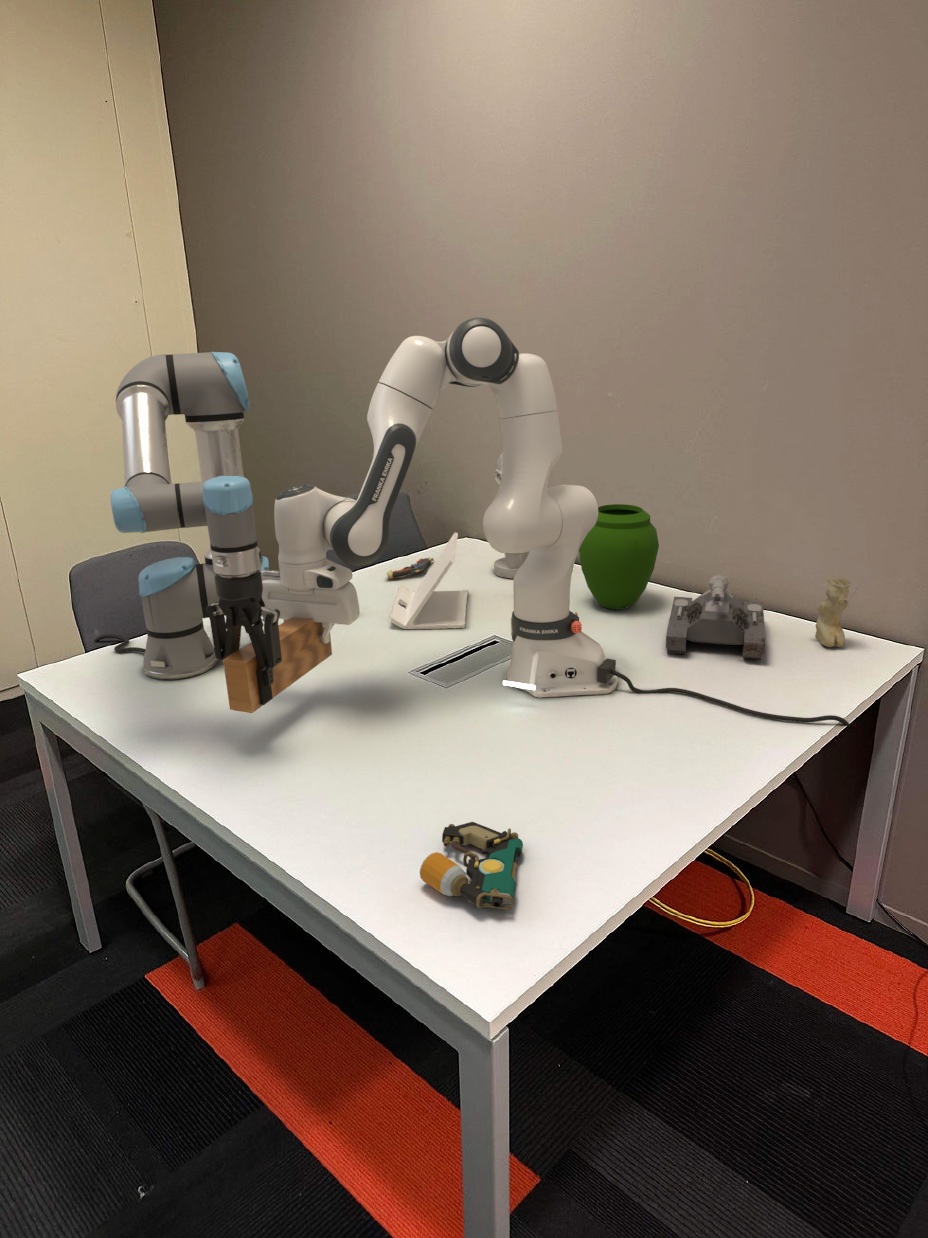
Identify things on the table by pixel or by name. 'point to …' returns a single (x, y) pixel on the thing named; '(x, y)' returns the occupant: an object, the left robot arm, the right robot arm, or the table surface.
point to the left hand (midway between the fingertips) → (253, 699)
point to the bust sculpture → (512, 560)
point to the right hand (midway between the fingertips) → (310, 641)
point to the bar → (297, 660)
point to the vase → (619, 555)
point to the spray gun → (476, 866)
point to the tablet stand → (431, 599)
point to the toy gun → (410, 568)
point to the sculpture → (832, 613)
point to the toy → (717, 621)
